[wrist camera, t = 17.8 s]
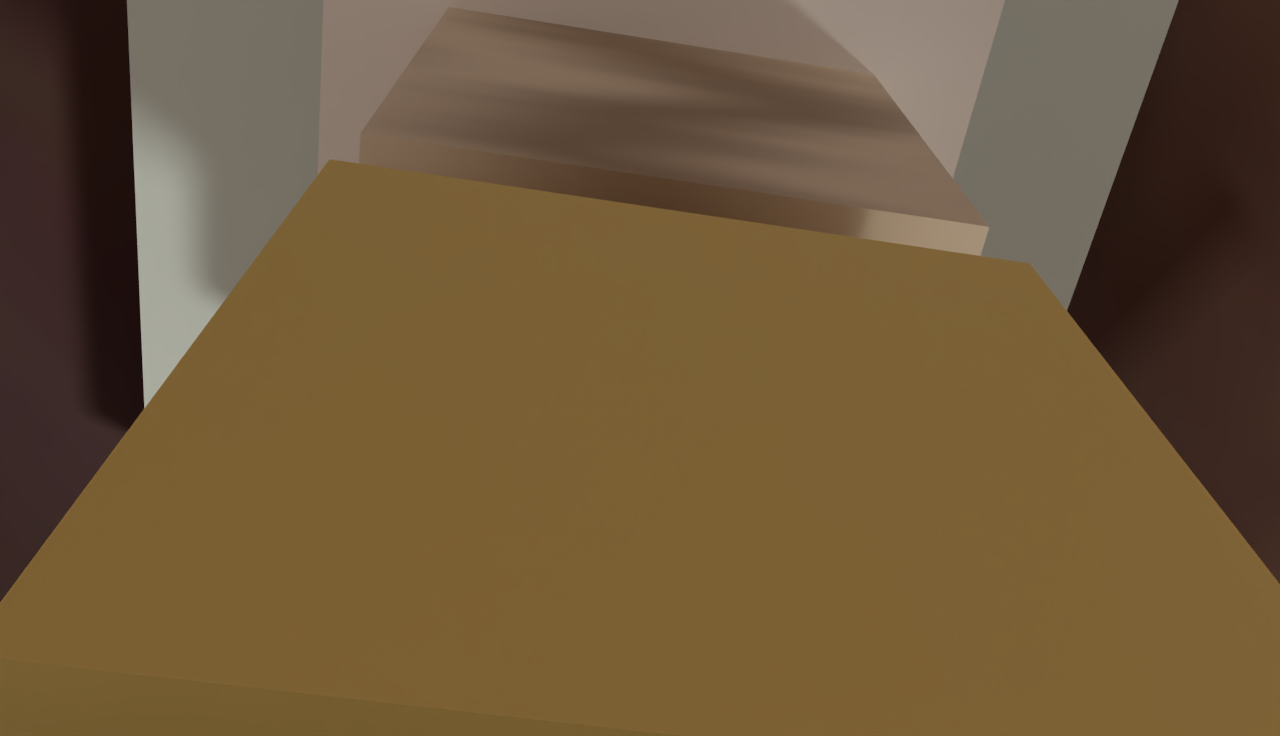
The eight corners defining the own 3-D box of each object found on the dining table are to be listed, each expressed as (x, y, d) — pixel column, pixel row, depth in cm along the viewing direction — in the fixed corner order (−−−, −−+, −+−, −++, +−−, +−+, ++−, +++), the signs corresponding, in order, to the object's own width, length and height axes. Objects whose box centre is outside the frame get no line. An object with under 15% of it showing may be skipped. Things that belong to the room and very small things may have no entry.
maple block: (873, 74, 18) (988, 226, 12) (783, 435, 21) (843, 694, 15) (448, 7, 17) (360, 132, 12) (417, 386, 20) (335, 635, 15)
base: (1225, -287, 20) (1393, -298, 16) (939, 555, 28) (996, 703, 24) (154, -490, 19) (7, -565, 14) (180, 459, 27) (92, 598, 23)
